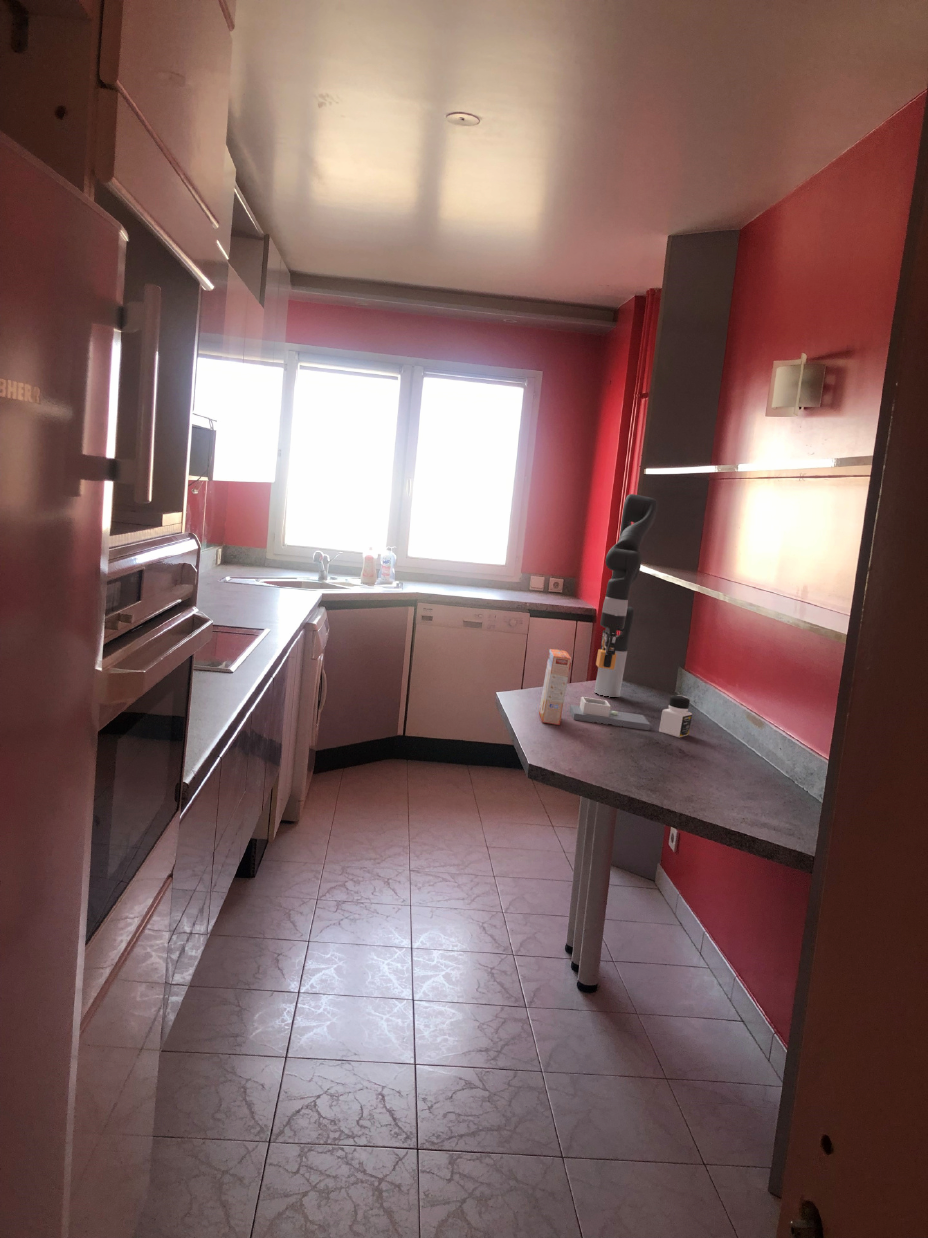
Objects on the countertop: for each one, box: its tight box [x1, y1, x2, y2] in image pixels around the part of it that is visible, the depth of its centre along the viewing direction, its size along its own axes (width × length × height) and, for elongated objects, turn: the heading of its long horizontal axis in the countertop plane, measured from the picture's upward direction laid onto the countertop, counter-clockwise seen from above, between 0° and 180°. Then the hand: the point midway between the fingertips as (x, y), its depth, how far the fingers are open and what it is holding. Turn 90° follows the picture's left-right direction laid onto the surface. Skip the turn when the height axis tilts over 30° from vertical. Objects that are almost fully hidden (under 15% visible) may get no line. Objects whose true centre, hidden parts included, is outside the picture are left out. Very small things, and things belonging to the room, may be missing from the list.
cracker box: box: [538, 648, 572, 726], centre depth 275 cm, size 14×6×21 cm, turn 179°
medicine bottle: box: [658, 694, 693, 738], centre depth 282 cm, size 7×7×12 cm
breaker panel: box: [568, 696, 651, 731], centre depth 287 cm, size 12×24×6 cm, turn 90°
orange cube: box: [595, 648, 617, 670], centre depth 284 cm, size 5×5×5 cm
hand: (605, 665), depth 284 cm, fingers closed on orange cube, 5 cm apart
